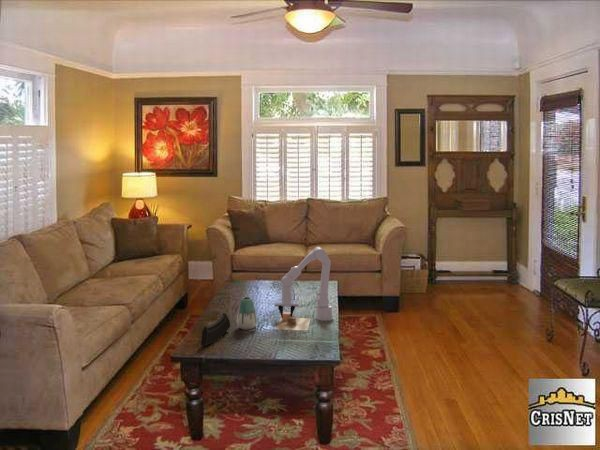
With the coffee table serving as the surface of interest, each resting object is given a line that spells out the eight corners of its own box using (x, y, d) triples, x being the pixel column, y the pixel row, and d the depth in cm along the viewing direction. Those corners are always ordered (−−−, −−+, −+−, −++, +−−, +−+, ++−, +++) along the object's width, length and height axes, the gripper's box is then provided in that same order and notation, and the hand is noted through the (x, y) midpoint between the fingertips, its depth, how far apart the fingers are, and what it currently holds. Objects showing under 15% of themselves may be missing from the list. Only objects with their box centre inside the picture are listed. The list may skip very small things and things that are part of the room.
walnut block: (296, 323, 356) (296, 316, 356) (295, 325, 352) (295, 318, 351) (288, 322, 357) (288, 316, 356) (287, 325, 352) (287, 318, 352)
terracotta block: (291, 318, 366) (291, 312, 365) (290, 320, 361) (290, 314, 361) (283, 318, 366) (283, 311, 366) (282, 320, 362) (282, 313, 361)
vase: (254, 331, 343) (253, 300, 341) (234, 330, 346) (233, 299, 343) (259, 325, 355) (259, 295, 352) (240, 324, 357) (239, 294, 354)
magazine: (203, 332, 313) (226, 302, 339) (198, 332, 314) (221, 301, 340) (208, 360, 320) (230, 328, 346) (203, 359, 321) (225, 327, 347)
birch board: (310, 319, 366) (310, 318, 366) (307, 332, 343) (307, 330, 342) (281, 319, 368) (281, 317, 368) (275, 331, 344) (275, 329, 344)
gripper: (273, 297, 359) (273, 319, 360) (298, 298, 357) (298, 320, 359) (275, 294, 365) (275, 316, 367) (299, 295, 364) (299, 317, 366)
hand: (286, 318), depth 364 cm, fingers closed on terracotta block, 5 cm apart
